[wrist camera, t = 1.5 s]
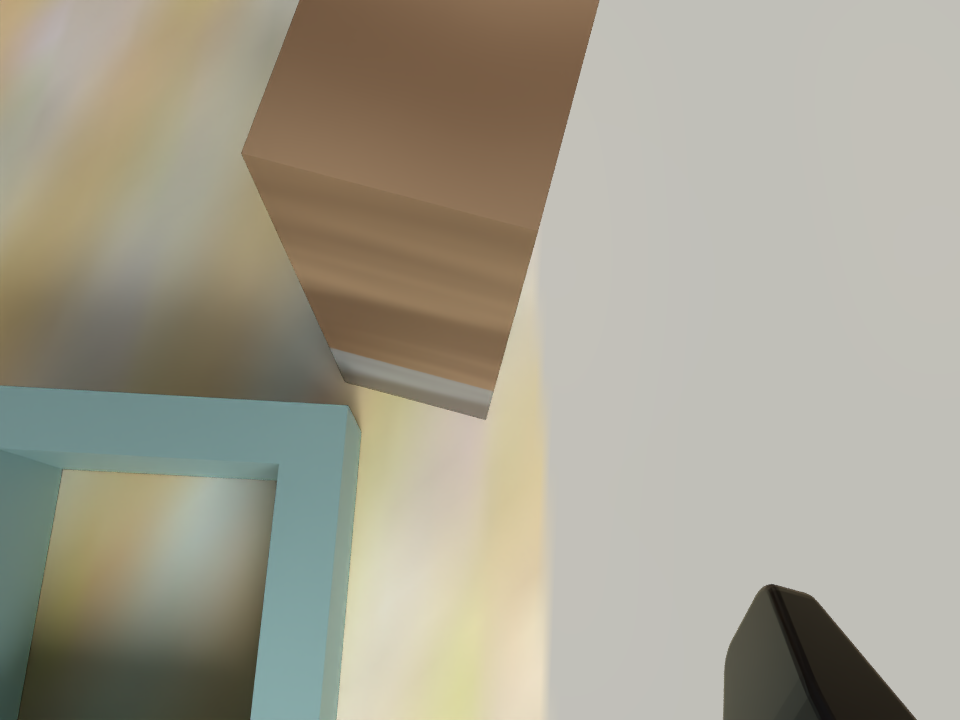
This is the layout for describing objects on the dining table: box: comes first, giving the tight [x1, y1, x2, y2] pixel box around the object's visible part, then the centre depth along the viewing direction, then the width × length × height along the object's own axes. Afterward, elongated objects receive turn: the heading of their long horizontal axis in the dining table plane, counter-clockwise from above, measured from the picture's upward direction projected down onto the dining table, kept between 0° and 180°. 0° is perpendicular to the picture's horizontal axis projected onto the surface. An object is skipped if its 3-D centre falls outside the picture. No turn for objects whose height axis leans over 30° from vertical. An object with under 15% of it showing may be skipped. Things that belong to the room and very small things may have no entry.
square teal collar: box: [0, 386, 361, 720], centre depth 17 cm, size 8×8×3 cm
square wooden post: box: [241, 0, 599, 420], centre depth 15 cm, size 4×4×11 cm
